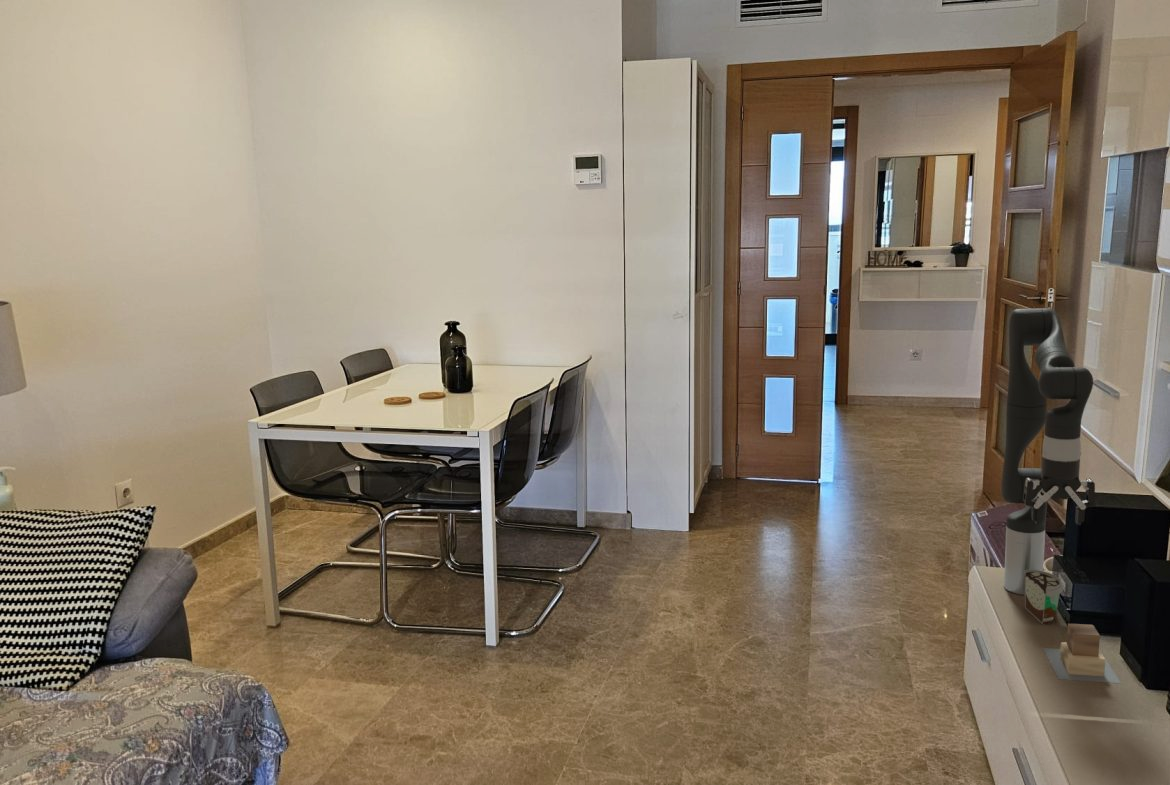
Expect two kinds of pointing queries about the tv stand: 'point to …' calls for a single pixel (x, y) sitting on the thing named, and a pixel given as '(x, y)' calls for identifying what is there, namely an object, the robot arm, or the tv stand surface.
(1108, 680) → the build board
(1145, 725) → the tv stand surface
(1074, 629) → the walnut cube
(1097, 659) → the oak base block
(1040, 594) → the food container
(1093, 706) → the tv stand surface
